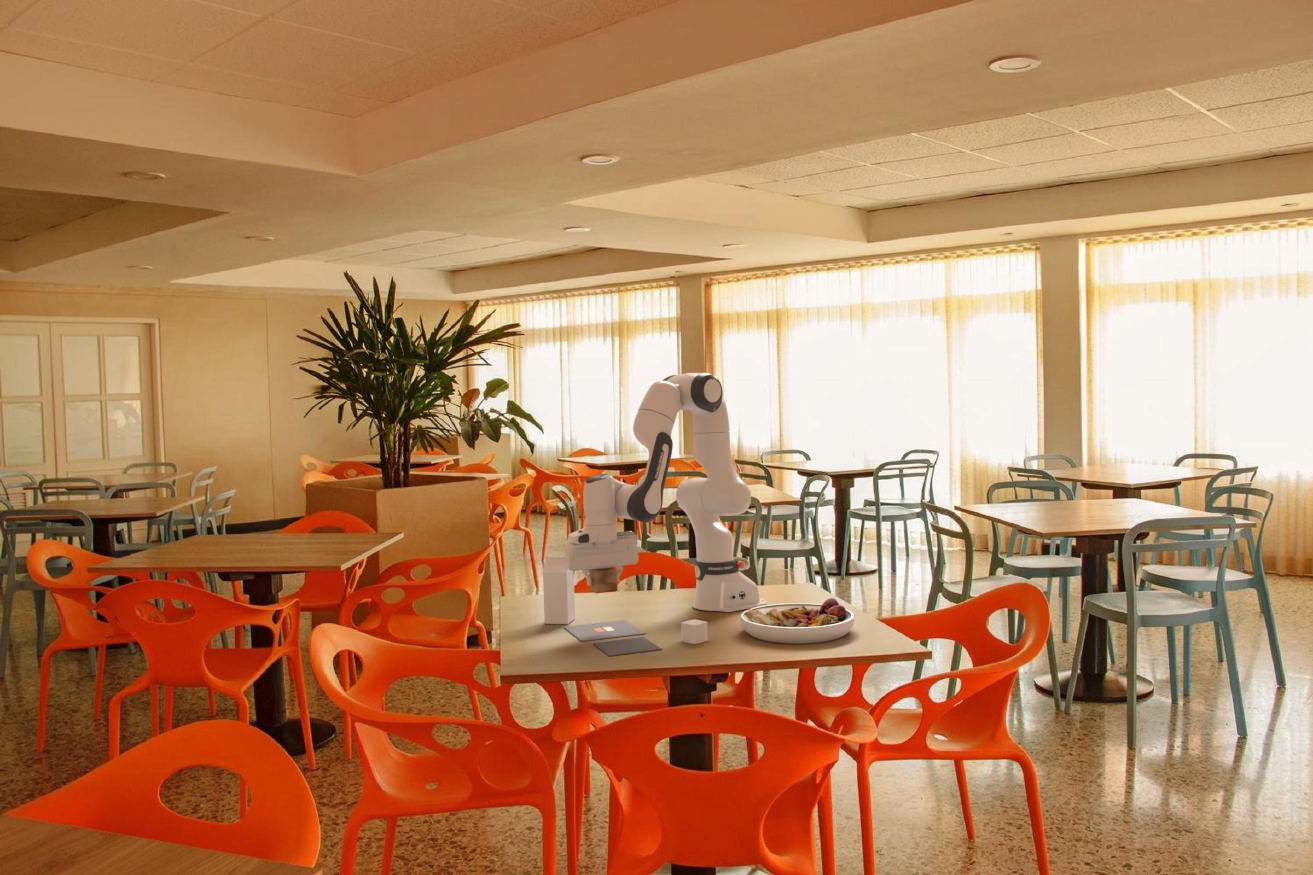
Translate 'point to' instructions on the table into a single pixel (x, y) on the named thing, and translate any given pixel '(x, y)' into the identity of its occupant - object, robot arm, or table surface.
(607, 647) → the mat
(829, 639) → the bowl
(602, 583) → the walnut block
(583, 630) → the tile
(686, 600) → the table surface
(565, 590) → the milk carton
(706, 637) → the beige block
